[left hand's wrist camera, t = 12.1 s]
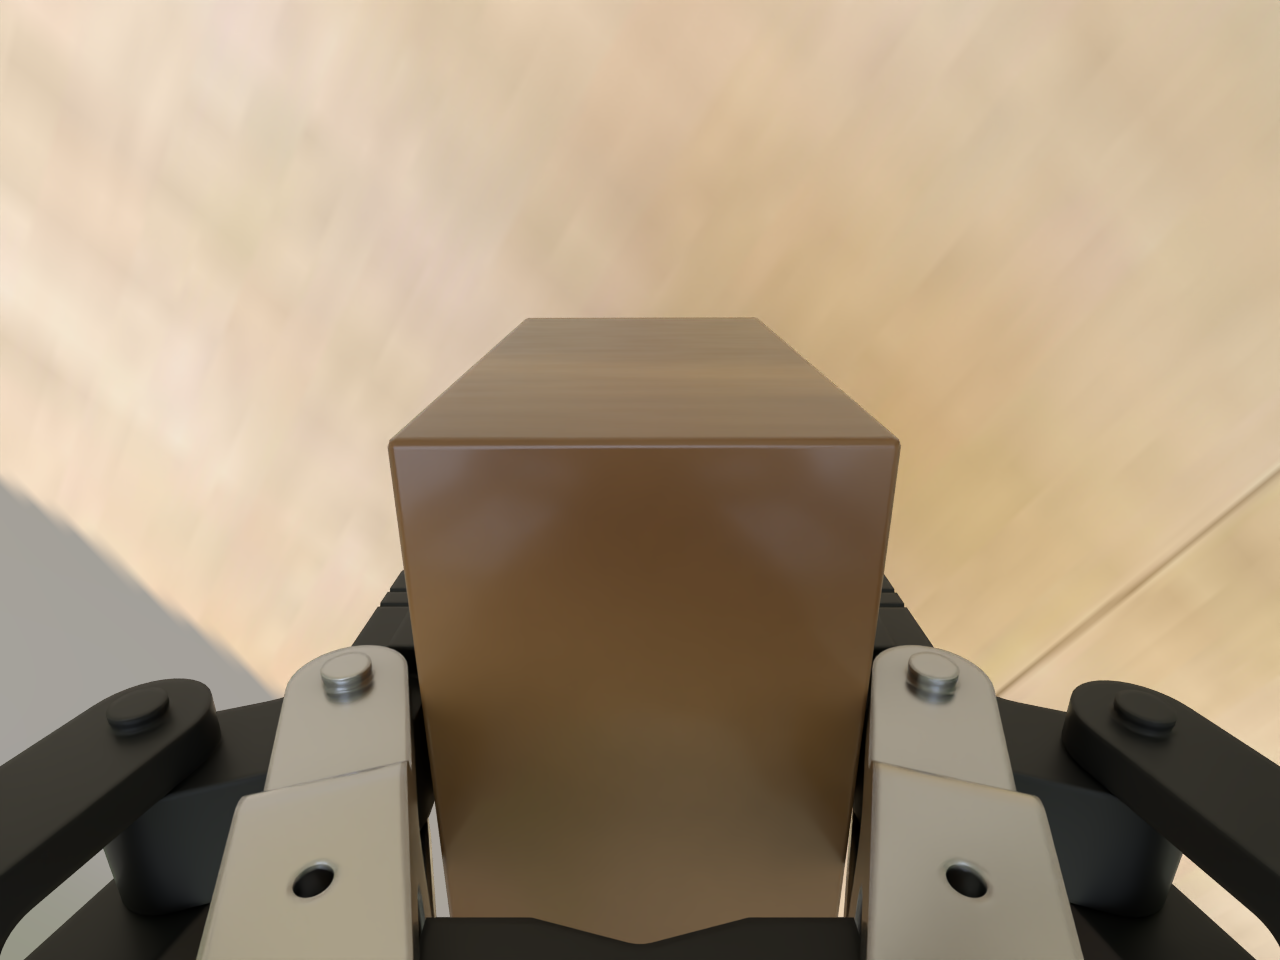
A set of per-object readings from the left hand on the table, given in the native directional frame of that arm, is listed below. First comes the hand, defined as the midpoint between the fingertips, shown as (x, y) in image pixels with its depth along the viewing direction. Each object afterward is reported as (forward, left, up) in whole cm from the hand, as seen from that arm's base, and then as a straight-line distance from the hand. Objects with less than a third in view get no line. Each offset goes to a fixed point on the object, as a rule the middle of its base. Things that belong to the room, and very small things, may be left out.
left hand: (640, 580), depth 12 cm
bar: (+7, -2, -4) cm, 8 cm away
